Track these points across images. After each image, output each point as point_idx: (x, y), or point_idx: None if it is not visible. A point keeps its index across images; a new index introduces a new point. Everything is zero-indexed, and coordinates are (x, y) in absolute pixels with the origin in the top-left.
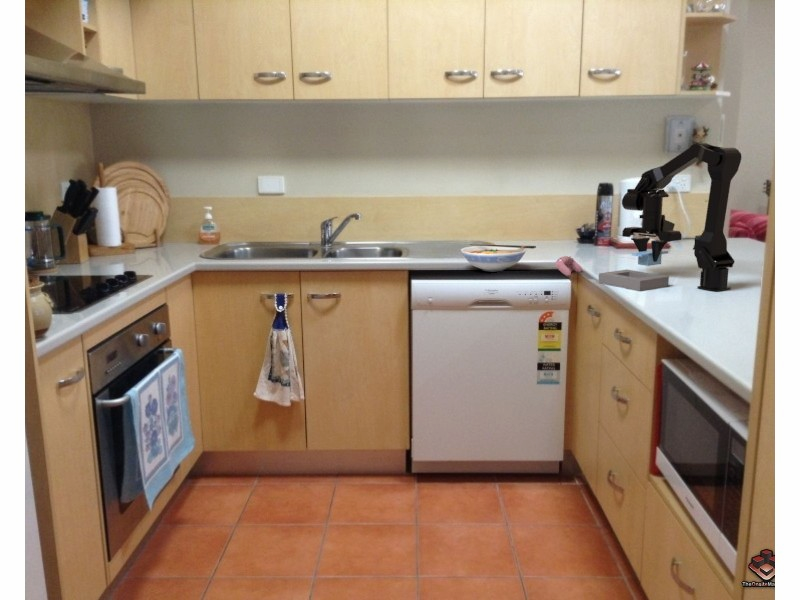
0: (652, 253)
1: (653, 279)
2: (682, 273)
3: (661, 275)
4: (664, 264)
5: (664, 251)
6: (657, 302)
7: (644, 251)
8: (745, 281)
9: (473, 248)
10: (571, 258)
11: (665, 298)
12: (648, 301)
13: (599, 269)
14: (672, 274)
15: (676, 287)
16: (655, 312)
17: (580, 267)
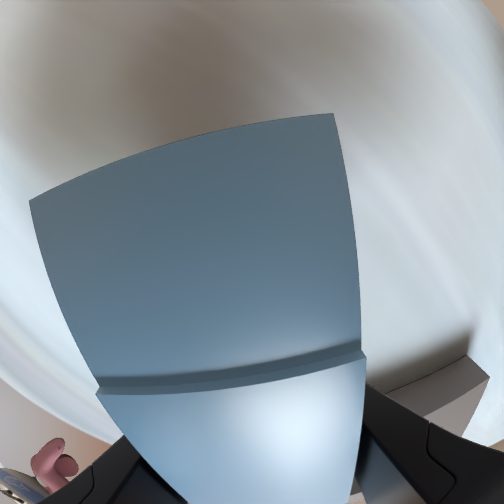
0: (359, 478)
1: (462, 431)
2: (228, 12)
3: (465, 396)
4: (4, 20)
5: (292, 205)
6: (490, 427)
7: (198, 497)
8: (488, 22)
9: (12, 495)
10: (49, 483)
11: (495, 409)
12: (477, 439)
13: (3, 355)
14: (230, 83)
15: (487, 335)
16: (498, 437)
17: (59, 453)
